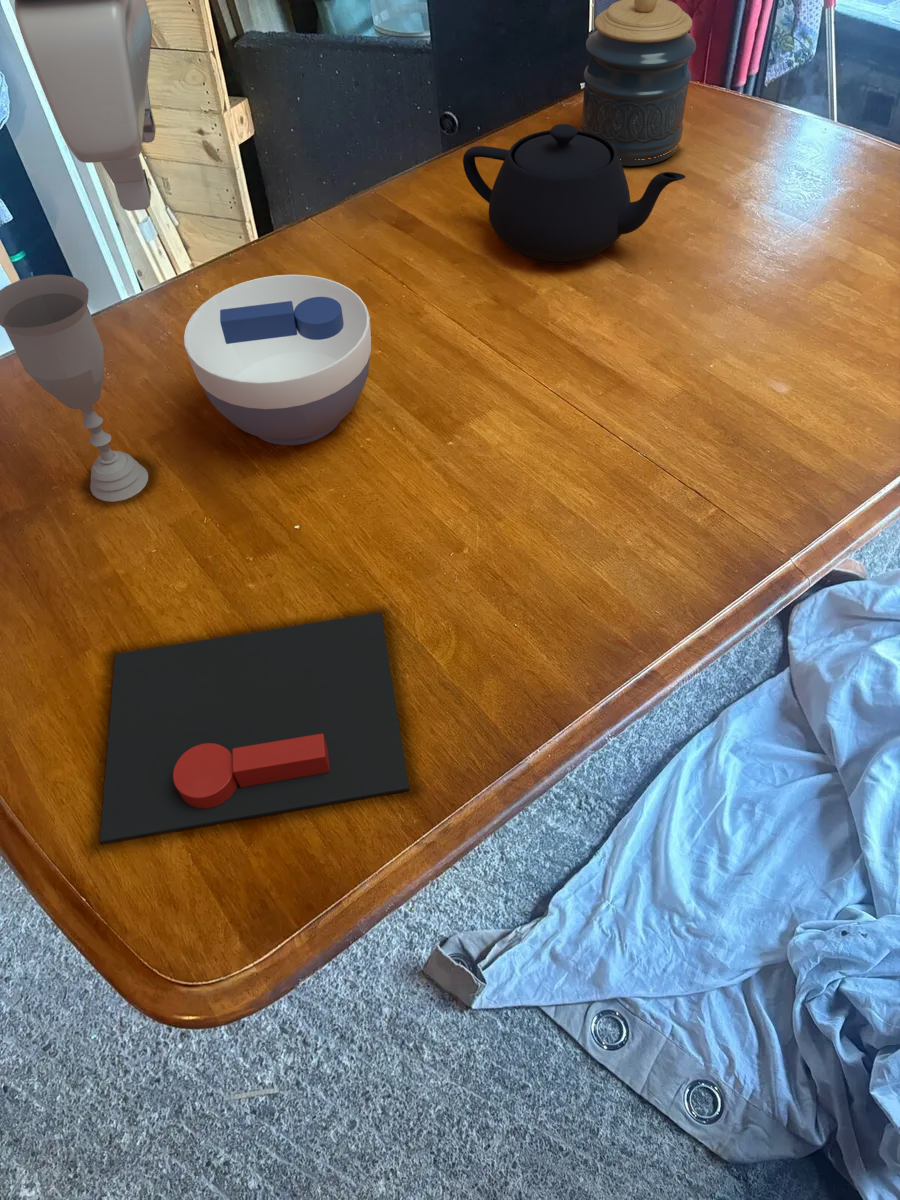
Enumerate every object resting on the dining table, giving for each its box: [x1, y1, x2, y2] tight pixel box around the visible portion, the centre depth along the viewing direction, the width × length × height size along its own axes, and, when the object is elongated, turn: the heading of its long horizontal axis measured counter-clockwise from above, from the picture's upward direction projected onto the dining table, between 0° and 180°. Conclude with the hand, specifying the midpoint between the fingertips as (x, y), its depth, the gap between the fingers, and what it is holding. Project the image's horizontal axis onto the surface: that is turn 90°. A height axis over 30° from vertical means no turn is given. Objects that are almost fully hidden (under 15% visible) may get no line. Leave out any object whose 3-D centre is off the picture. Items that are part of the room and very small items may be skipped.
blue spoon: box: [220, 297, 344, 344], centre depth 75 cm, size 10×4×2 cm, turn 99°
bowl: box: [183, 274, 372, 446], centre depth 80 cm, size 16×16×10 cm
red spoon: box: [173, 734, 330, 808], centre depth 59 cm, size 10×4×2 cm, turn 100°
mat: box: [99, 611, 410, 845], centre depth 62 cm, size 20×15×1 cm
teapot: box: [462, 123, 686, 265], centre depth 96 cm, size 25×16×12 cm, turn 63°
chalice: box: [0, 273, 149, 503], centre depth 72 cm, size 7×7×18 cm
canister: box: [579, 0, 697, 167], centre depth 108 cm, size 13×13×18 cm
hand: (140, 170), depth 58 cm, fingers open, 8 cm apart
